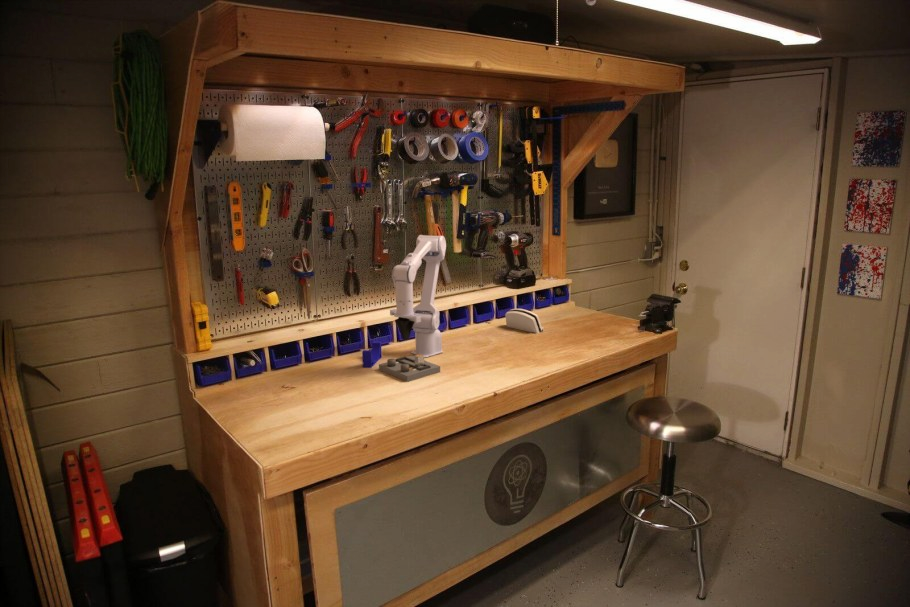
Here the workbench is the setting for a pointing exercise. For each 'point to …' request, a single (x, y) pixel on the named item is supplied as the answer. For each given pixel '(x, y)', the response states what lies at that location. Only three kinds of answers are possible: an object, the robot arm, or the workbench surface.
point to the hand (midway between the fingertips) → (405, 339)
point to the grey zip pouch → (523, 320)
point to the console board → (408, 374)
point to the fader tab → (419, 360)
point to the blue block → (372, 355)
